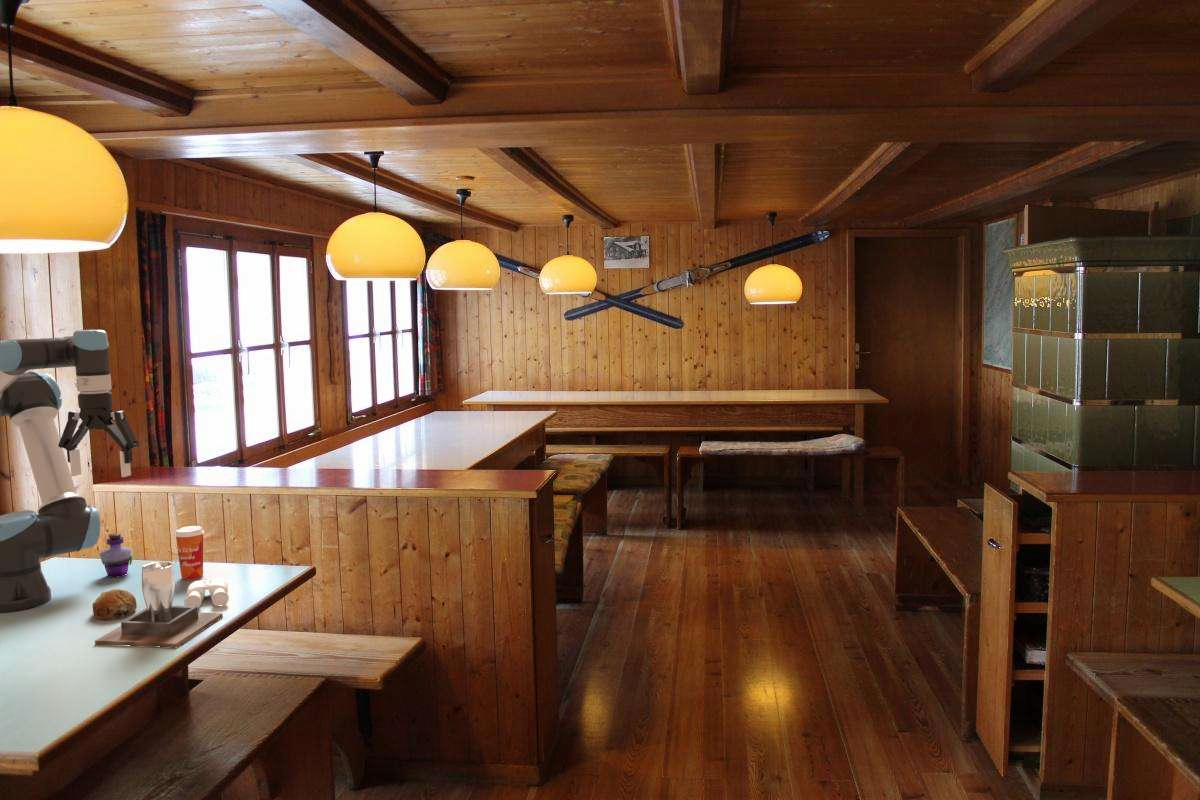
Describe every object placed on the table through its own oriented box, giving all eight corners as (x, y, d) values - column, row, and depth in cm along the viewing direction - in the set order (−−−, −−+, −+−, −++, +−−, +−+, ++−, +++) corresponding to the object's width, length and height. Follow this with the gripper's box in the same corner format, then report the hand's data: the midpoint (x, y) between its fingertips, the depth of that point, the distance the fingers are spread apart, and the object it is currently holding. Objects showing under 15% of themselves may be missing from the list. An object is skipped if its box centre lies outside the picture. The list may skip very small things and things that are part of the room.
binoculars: (184, 612, 235) (183, 594, 234) (187, 593, 249) (186, 576, 249) (229, 607, 238) (228, 589, 238) (229, 588, 253) (228, 572, 253)
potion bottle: (138, 574, 265) (135, 533, 264) (106, 581, 260) (102, 539, 258) (129, 568, 272) (126, 528, 270) (96, 574, 266) (93, 534, 264)
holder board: (95, 644, 213) (93, 628, 212) (148, 614, 232) (146, 599, 232) (176, 648, 210) (174, 631, 210) (222, 617, 230) (221, 601, 229)
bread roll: (138, 620, 239) (137, 589, 241) (135, 615, 230) (133, 583, 232) (95, 626, 235) (94, 595, 237) (89, 621, 226) (89, 589, 228)
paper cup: (172, 581, 259) (169, 532, 257) (185, 572, 267) (182, 525, 265) (199, 581, 259) (196, 532, 257) (212, 572, 266) (209, 525, 265)
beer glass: (168, 631, 217) (164, 570, 216) (139, 631, 218) (134, 570, 216) (182, 621, 224) (178, 561, 223) (154, 621, 225) (149, 561, 223)
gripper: (37, 393, 228) (45, 478, 231) (131, 393, 225) (137, 479, 227) (59, 390, 235) (66, 472, 238) (150, 390, 232) (156, 473, 235)
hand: (101, 475), depth 233 cm, fingers open, 13 cm apart
